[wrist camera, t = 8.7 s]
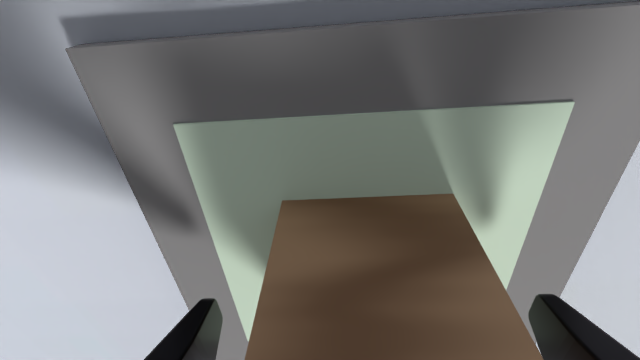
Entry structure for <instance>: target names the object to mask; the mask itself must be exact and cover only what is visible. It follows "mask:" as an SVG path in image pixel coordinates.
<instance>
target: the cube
mask: <svg viewBox="0 0 640 360" xmlns="http://www.w3.org/2000/svg"><path fill="white" fill-rule="evenodd" d="M245 360H544V359H543V358H542V356H541V354H540V352H539V350H538V348H537V347H536V345H535V343H534V341H533V339H532V337H531V336H530V334H529V332H528V330H527V328H526V326H525V325H524V323H523V321H522V319H521V317H520V315H519V313H518V312H517V310H516V308H515V306H514V304H513V302H512V301H511V299H510V297H509V295H508V293H507V291H506V290H505V288H504V286H503V284H502V282H501V280H500V279H499V277H498V275H497V273H496V271H495V269H494V267H493V266H492V264H491V262H490V260H489V258H488V256H487V255H486V253H485V251H484V249H483V247H482V245H481V244H480V242H479V240H478V238H477V236H476V234H475V233H474V231H473V229H472V227H471V225H470V223H469V221H468V220H467V218H466V216H465V214H464V212H463V210H462V209H461V207H460V205H459V203H458V201H457V199H456V198H455V196H454V194H429V195H405V196H380V197H356V198H331V199H307V200H282V203H281V207H280V211H279V216H278V220H277V224H276V228H275V233H274V237H273V241H272V245H271V250H270V254H269V258H268V262H267V267H266V271H265V275H264V279H263V284H262V288H261V292H260V296H259V301H258V305H257V309H256V313H255V317H254V322H253V326H252V330H251V334H250V339H249V343H248V347H247V351H246V356H245Z"/></svg>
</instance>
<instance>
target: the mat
mask: <svg viewBox="0 0 640 360" xmlns="http://www.w3.org/2000/svg"><path fill="white" fill-rule="evenodd" d="M65 50H66V52H67V54H68V56H69V58H70V60H71V62H72V64H73V66H74V69H75V71H76V73H77V75H78V77H79V79H80V81H81V83H82V85H83V88H84V90H85V92H86V94H87V96H88V98H89V100H90V102H91V104H92V107H93V109H94V111H95V113H96V115H97V117H98V119H99V121H100V123H101V125H102V128H103V130H104V132H105V134H106V136H107V138H108V140H109V142H110V144H111V147H112V149H113V151H114V153H115V155H116V157H117V159H118V161H119V163H120V165H121V168H122V170H123V172H124V174H125V176H126V178H127V180H128V182H129V184H130V187H131V189H132V191H133V193H134V195H135V197H136V199H137V201H138V203H139V206H140V208H141V210H142V212H143V214H144V216H145V218H146V220H147V222H148V224H149V227H150V229H151V231H152V233H153V235H154V237H155V239H156V241H157V243H158V246H159V248H160V250H161V252H162V254H163V256H164V258H165V260H166V262H167V264H168V267H169V269H170V271H171V273H172V275H173V277H174V279H175V281H176V283H177V286H178V288H179V290H180V292H181V294H182V296H183V298H184V300H185V302H186V305H187V307H188V309H189V311H190V310H191V309H192V308H193V307H194V306H195V305H196V304H197V302H198V301H199V300H201V299H203V298H215V299H216V300H217V302H218V305H219V307H220V310H221V313H222V316H223V323H222V329H221V334H220V339H219V344H218V350H217V355H216V360H245V356H246V351H247V347H248V343H249V339H250V334H251V330H252V326H253V322H254V317H255V313H256V309H257V305H258V301H259V296H260V292H261V288H262V284H263V279H264V275H265V271H266V267H267V262H268V258H269V254H270V250H271V245H272V241H273V237H274V233H275V228H276V224H277V220H278V216H279V211H280V207H281V203H282V200H307V199H331V198H356V197H380V196H405V195H429V194H454V196H455V198H456V199H457V201H458V203H459V205H460V207H461V209H462V210H463V212H464V214H465V216H466V218H467V220H468V221H469V223H470V225H471V227H472V229H473V231H474V233H475V234H476V236H477V238H478V240H479V242H480V244H481V245H482V247H483V249H484V251H485V253H486V255H487V256H488V258H489V260H490V262H491V264H492V266H493V267H494V269H495V271H496V273H497V275H498V277H499V279H500V280H501V282H502V284H503V286H504V288H505V290H506V291H507V293H508V295H509V297H510V299H511V301H512V302H513V304H514V306H515V308H516V310H517V312H518V313H519V315H520V317H521V319H522V321H523V323H524V325H525V326H526V328H527V330H528V332H529V334H530V336H531V337H532V339H533V341H534V343H535V344H536V342H537V341H536V338H535V336H534V333H533V330H532V327H531V325H530V322H529V318H528V312H529V309H530V307H531V305H532V303H533V300H534V298H535V296H536V295H538V294H554V295H556V296H558V297H560V295H561V293H562V291H563V289H564V287H565V285H566V283H567V281H568V280H569V278H570V276H571V274H572V272H573V270H574V268H575V266H576V264H577V262H578V260H579V258H580V256H581V254H582V252H583V250H584V248H585V246H586V244H587V242H588V240H589V238H590V237H591V235H592V233H593V231H594V229H595V227H596V225H597V223H598V221H599V219H600V217H601V215H602V213H603V211H604V209H605V207H606V205H607V203H608V201H609V199H610V197H611V195H612V194H613V192H614V190H615V188H616V186H617V184H618V182H619V180H620V178H621V176H622V174H623V172H624V170H625V168H626V166H627V164H628V162H629V160H630V158H631V156H632V154H633V153H634V151H635V149H636V147H637V145H638V143H639V141H640V1H635V2H622V3H609V4H596V5H583V6H570V7H557V8H544V9H532V10H519V11H506V12H493V13H480V14H467V15H454V16H441V17H428V18H415V19H402V20H389V21H376V22H363V23H350V24H337V25H325V26H312V27H299V28H286V29H273V30H260V31H247V32H234V33H221V34H208V35H195V36H182V37H169V38H156V39H143V40H130V41H117V42H105V43H92V44H81V45H77V46H74V47H70V48H66V49H65Z"/></svg>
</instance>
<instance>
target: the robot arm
mask: <svg viewBox="0 0 640 360" xmlns="http://www.w3.org/2000/svg"><path fill="white" fill-rule="evenodd" d="M528 318H529V322H530V325H531V327H532V330H533V333H534V336H535V338H536V341H537V344H538V347H539V349H540V352H541V355H542V358H543V359H544V360H640V358H639V357H637V356H636V355H635V354H634V353H632V352H631V351H630V350H628V349H627V348H626V347H624V346H623V345H622V344H620V343H619V342H618V341H616V340H615V339H614V338H612V337H611V336H610V335H608V334H607V333H606V332H604V331H603V330H602V329H600V328H599V327H598V326H596V325H595V324H594V323H592V322H591V321H590V320H588V319H587V318H586V317H584V316H583V315H582V314H580V313H579V312H578V311H576V310H575V309H574V308H572V307H571V306H570V305H568V304H567V303H566V302H564V301H563V300H562V299H561V298H559V297H558V296H556V295H554V294H538V295H536V296H535V298H534V300H533V303H532V305H531V307H530V309H529V312H528ZM222 323H223V316H222V313H221V310H220V307H219V305H218V302H217V300H216V299H215V298H203V299H201V300H199V301H198V302H197V304H196V305H195V306H194V307H193V308H192V309H191V310H190V311H189V312H188V313H187V314H186V315H185V316H184V317H183V318H182V320H181V321H180V322H179V323H178V324H177V325H176V326H175V327H174V328H173V329H172V330H171V331H170V332H169V333H168V334H167V335H166V337H165V338H164V339H163V340H162V341H161V342H160V343H159V344H158V345H157V346H156V347H155V348H154V349H153V350H152V351H151V353H150V354H149V355H148V356H147V357H146V358H145V359H144V360H216V355H217V350H218V344H219V339H220V334H221V329H222Z"/></svg>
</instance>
